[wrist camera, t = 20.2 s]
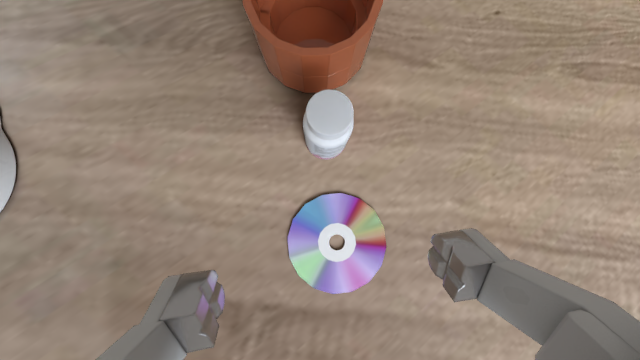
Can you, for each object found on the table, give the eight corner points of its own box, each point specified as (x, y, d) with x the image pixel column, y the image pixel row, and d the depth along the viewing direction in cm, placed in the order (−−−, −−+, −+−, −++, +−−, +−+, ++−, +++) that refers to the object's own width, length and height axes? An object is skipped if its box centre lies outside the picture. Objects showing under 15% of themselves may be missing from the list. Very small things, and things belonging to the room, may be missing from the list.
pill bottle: (353, 140, 27) (370, 112, 19) (325, 168, 27) (330, 152, 18) (325, 112, 27) (329, 73, 19) (297, 139, 27) (288, 111, 19)
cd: (380, 299, 25) (381, 300, 25) (280, 286, 25) (280, 287, 25) (390, 199, 26) (390, 199, 26) (294, 186, 26) (294, 186, 26)
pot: (246, 74, 28) (220, 26, 20) (284, -16, 29) (273, -91, 22) (344, 109, 27) (355, 75, 20) (379, 18, 29) (401, -47, 21)
